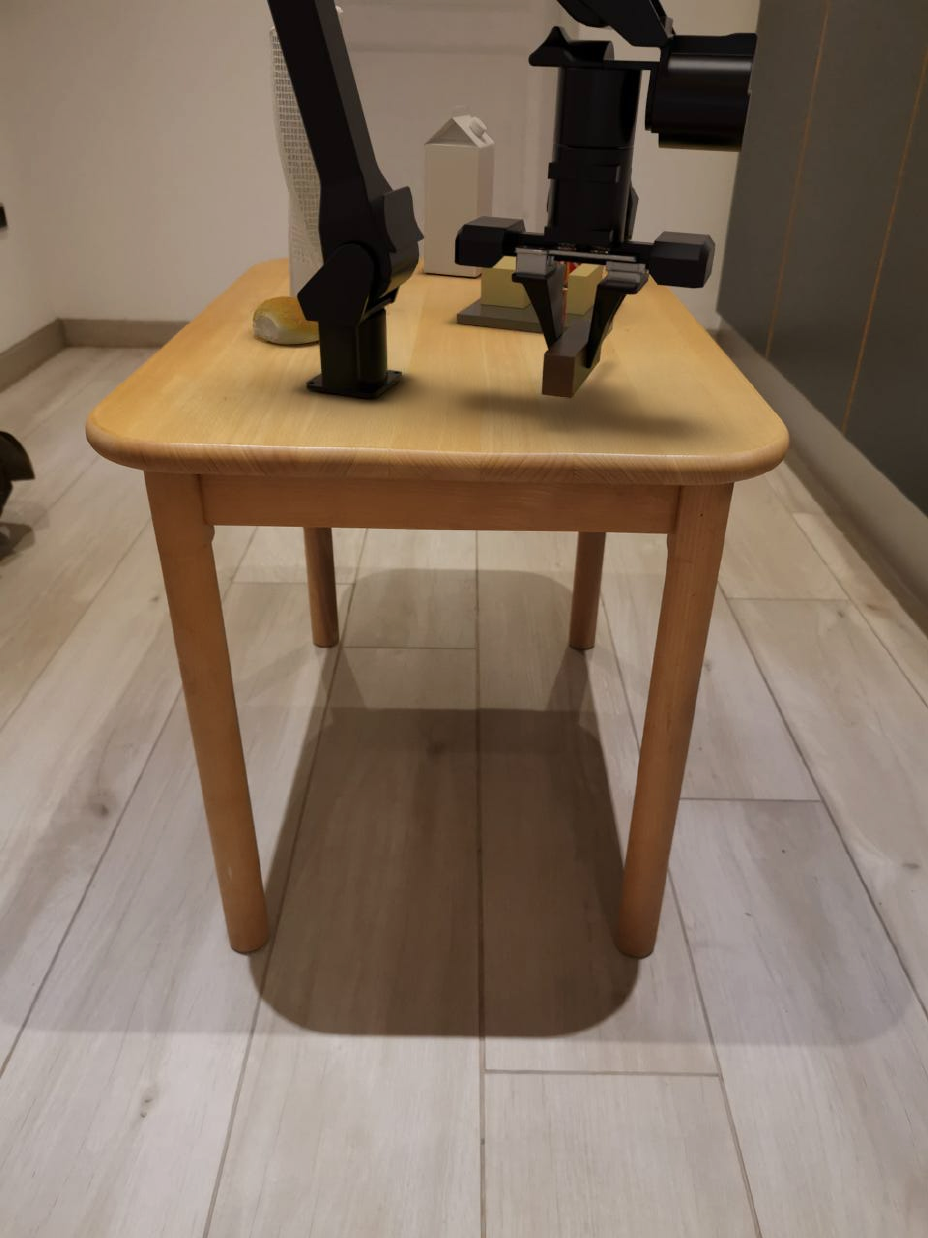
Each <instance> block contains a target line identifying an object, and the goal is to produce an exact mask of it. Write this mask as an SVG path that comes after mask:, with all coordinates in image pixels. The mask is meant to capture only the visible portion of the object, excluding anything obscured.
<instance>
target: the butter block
mask: <svg viewBox="0 0 928 1238" xmlns="http://www.w3.org/2000/svg"><path fill="white" fill-rule="evenodd" d="M515 269H516V257H509V256H504V257H503V258H502V259H501V260H500V261H499V262H498V263H497V264H496V265H495V266H494V267H493V268H482V273H481V281H480V298H481V304H484V305H493V306H502V307H511V308H520V309H524V308H525V307H526V306H528V305H529V304H530V303H531V302H530V300H529V297H528V295H527V293H526V291H525V289H524V287H523V285H522V284H520V283H514V282H512V280H511V275H512V274H513V273H514V272H515Z"/></svg>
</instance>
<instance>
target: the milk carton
mask: <svg viewBox="0 0 928 1238" xmlns="http://www.w3.org/2000/svg"><path fill="white" fill-rule="evenodd" d="M487 130H488V128H487V126H486V124H485V123H484V122H483V121H482V120H481V119H480V118H478V117H477V116H473V117H472V116H471V114H470V104H465V105H464V104H463V105H457V106H451V107H450V118H449V119H448V120H447V121H446V122H444V124H442V126H441V127H440V128H439V129H437V131H436V132H435V133H433V134H432V135H431V137H429V139H427V141H425V142H424V143H423V235H424V239H423V273H426V274H427V273H428V274H436V275H437V274H438V275H447V276H448V275H449V276H458V277H460V276H461V277H471V278H476V277H478V276H480V275H482V267H472V266H462V265H457V264H455V239H456V236H457V233H458V231H459V229H460V228H461V227H462V226H463V225H464V224H466V223H468V222H470V221H473V220H475V219H477V218H479V217H482V216H487V217H493V197H494V196H493V195H494V169H495V141H494V140H493V139H492V138H491V137H490V136H489V134H488V133H487Z"/></svg>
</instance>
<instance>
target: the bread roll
mask: <svg viewBox="0 0 928 1238" xmlns="http://www.w3.org/2000/svg"><path fill="white" fill-rule="evenodd" d="M252 329H253V331H254V334H255V335H256V336H258V337H259V338H261V339H264V340H265V341H268V342H270V343H273V344H278V345H301V344H309V343H314V342H317V341H319V332H318V322H313V321H307V320H306V319H305V317H304V315H303V312H302V310H301V307H300V304H299V302H298V299H297V296H296V297H290V296H275V297H271V298H268V299H264V301H262V302H261V303H260V304H259V305H258V306H257V308H255V310H254V311H253V317H252Z"/></svg>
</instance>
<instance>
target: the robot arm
mask: <svg viewBox="0 0 928 1238" xmlns="http://www.w3.org/2000/svg"><path fill="white" fill-rule="evenodd" d="M266 3H267V6H268V8H269V12H270V16H271V19H272V22H273V23H272V24H273V26H275V30H276V32H275V33H276V35H277V37H278V40H279V43H280V47H281V50H282V54H283V57H284V60H285V64H286V67H287V71H288V74H289V78H290V81H291V84H292V88H293V91H294V95H295V98H296V101H297V105H298V108H299V112H300V115H301V119H302V122H303V125H304V129H305V132H306V136H307V139H308V142H309V146H310V149H311V153H312V156H313V160H314V163H315V166H316V170H317V173H318V177H319V181H320V202H319V217H318V233H319V239H320V246H321V253H322V259H323V266H322V267H321V268H320V269H319V270H318V271H317V272H316V273H315V275H314V276H313V277H312V278H311V279H310V280H309V281H308V282H307V283H306V284H305V286H304V287H303V288H302V289H301V290H300V291H299V292H298V293H297V299H298V302H299V304H300V307H301V310H302V312H303V315H304V317H305V319H306V320H307V321H313V322H318V332H319V340H318V346H319V360H320V361H319V362H320V373H319V374H318V375H316V376H314V377H313V378H311V379H310V380H308V381H306V382H305V388H306V389H307V390H311V391H317V392H323V393H324V392H325V393H331V394H337V395H338V394H339V395H344V396H350V397H351V396H352V397H358V398H359V397H360V398H366V399H374V398H377V397H378V396H379V395H381V394H383V392H385V391H387V390H388V389H389V388H391V387H392V386H393V385H394V384H396V383H397V382H400V380H402V379H403V372H402V371H399V370H391V369H389V367H388V366H389V365H388V333H387V332H388V331H387V328H388V327H387V310H386V307H387V306H388V305H392V304H394V303H396V300H397V298H398V294H399V291H400V288H401V286H402V285H404V284H405V283H406V282H407V281H409V279H410V278H412V276H413V275H414V272H415V271H416V268H417V266H418V265H419V261H420V247H419V243H420V241H423V240H424V233H423V232H422V230H421V229H420V227H419V226H418V223H417V220H416V216H415V211H414V210H415V209H414V201H413V199H414V198H413V193H412V191H411V187H410V186H409V185H405V186H402V187H399V188H396V189H393V188H392V186H391V185H390V183H389V182H388V180H387V178H386V177H385V176H384V174H383V173H382V171H381V169H380V167H379V165H378V162H377V158H376V155H375V152H374V147H373V144H372V140H371V139H372V138H371V135H370V131H369V128H368V124H367V120H366V116H365V113H364V108H363V105H362V101H361V97H360V93H359V90H358V86H357V82H356V78H355V75H354V70H353V67H352V64H351V63H352V62H351V60H350V56H349V55H350V54H349V51H348V48H347V44H346V41H345V37H344V34H343V33H344V32H343V31H342V29H341V25H340V21H339V13H338V12H337V10H336V6H337V5H336V3H335V0H266ZM556 3H558V4H559V5H560V6H561V7H562V8H563V10H564V11H565V12H566V13H567V14H568V15H569V16H570V18H572V19H573V20H574V21H576V22H577V23H579V24H581V25H583V26H585V27H588V28H593V29H599V30H607V31H614V32H616V33H617V34H618V35H619V36H620V37H621V38H622V39H623V40H625V41H626V43H628V44H629V45H630V46H632V47H635V48H647V49H649V48H650V49H659V51H660V55H659V60H635V59H634V60H632V59H631V60H630V59H615V48H614V43H613V41H612V40H607V39H606V40H605V39H604V40H603V39H572V38H571V37H570V36H569V34H568V33H567V31H566V28H565V27H564V26H559V25H554V26H552V28H550V32H549V34H548V35H547V37H546V38H545V39H544V41H543V42H542V43H541V44H540V45H539V46H538V47H537V48H536V49H535V50H533V52H531V53H530V54H529V55H528V57H527V58H528V59H527V62H528V65H529V66H531V67H535V68H557V74H556V75H557V77H556V89H555V90H556V91H555V106H554V121H553V135H552V148H551V161H549V162H548V166H547V167H548V168H547V179H548V180H549V188H548V193H547V199H546V213H547V220H546V225H545V226H543V232H534V231H527V230H526V225H525V221H524V219H523V218H512V217H510V218H509V217H497V216H492V217H487V216H482V217H479V218H477V219H475V220H473V221H470V222H468V223H466V224H464V225H463V226H462V227H461V228H460V229H459V231H458V233H457V236H456V239H455V264H457V265H462V266H472V267H482V268H493V267H494V266H495V265H496V264H497V263H498V262H499V261H500V260H501V259H502V258H503V257H504V256H509V257H516V269H515V272H514V273H513V274H512V275H511V280H512V282H514V283H520V284H522V285H523V287H524V289H525V291H526V293H527V295H528V297H529V300H530V302H531V304H532V306H533V308H534V310H535V313H536V315H537V317H538V320H539V323H540V325H541V329H542V332H543V333H542V334H543V338H544V341H545V345H546V348H547V350H548V349H549V348H550V347H551V346H552V345H553V344H554V343H555V342H556V341H557V340H558V339H559V337H560V336H561V335H562V334H563V290H564V286H563V285H564V279H565V272H566V264H557V263H558V262H559V261H562V262H573V263H583V264H594V265H604V267H605V269H604V270H605V272H607V275H606V276H604V277H603V278H602V279H601V282H599V283H598V284H597V289H596V295H595V301H594V307H593V313H592V319H591V325H590V331H589V337H588V343H587V350H586V368H587V369H591V367H592V366H593V364H594V362H595V360H596V358H597V355H598V353H599V351H600V348H601V349H602V346H603V344H604V341H605V339H606V338H607V337H606V334H607V332H608V330H609V327H610V325H611V323H612V321H613V322H614V320H613V318H614V319H615V316H616V314H617V312H618V310H619V309H620V308H621V305H622V303H623V302H624V301H625V298H626V297H627V295H629V296H630V295H631V296H632V295H637V294H638V293H640V291H641V290H642V289H643V288H644V286H645V285H646V284H647V283H648V281H649V277H651V278H652V280H653V281H654V282H655V284H656V285H657V286H665V287H673V288H674V287H675V288H684V289H692V290H693V289H695V290H696V289H703V288H704V287H705V285H706V284H707V282H708V280H709V279H710V277H711V275H712V272H713V266H714V260H715V254H716V246H717V245H716V243H715V241H714V239H713V238H712V236H711V235H710V234H706V233H705V234H704V233H692V232H679V231H668V230H667V231H666V230H663V232H661V233H660V234H659V236H657V238H655V239H654V241H653V242H651V241H639V240H638V241H637V240H632V239H633V235H634V230H635V224H636V223H635V222H636V217H637V211H638V205H639V201H640V198H639V195H638V194H637V192H636V189H635V188H634V187H633V181H632V174H633V159H634V151H635V142H636V141H635V139H636V133H637V132H636V131H637V123H638V113H639V105H640V96H641V87H642V77H643V71H649V79H648V85H647V91H646V98H645V106H644V107H645V108H644V131H645V132H650V134H655V135H656V134H657V135H658V136H657V138H658V139H657V144H658V149H666V150H667V149H668V150H669V149H670V150H671V149H672V150H689V151H705V152H706V151H709V152H727V153H742V151H743V147H744V142H745V137H746V132H747V126H748V122H749V121H748V120H749V115H750V108H751V102H752V98H753V97H752V96H753V91H754V90H752V89H751V85H752V80H753V79H752V78H753V72H754V67H755V60H756V53H757V48H758V41H759V35H758V34H757V33H756V32H732V33H729V34H725V35H705V34H704V35H700V34H677V32H676V30H675V28H674V27H673V23H674V19H673V18H672V17H669V16H668V15H667V13H666V10H665V9H664V6H663V4H662V3H661V0H556ZM418 242H419V243H418ZM559 248H561V249H559ZM564 248H567V249H564ZM570 249H571V250H570ZM574 249H576V250H574ZM595 251H597V252H595ZM600 251H602V252H600ZM605 337H606V338H605Z"/></svg>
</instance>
